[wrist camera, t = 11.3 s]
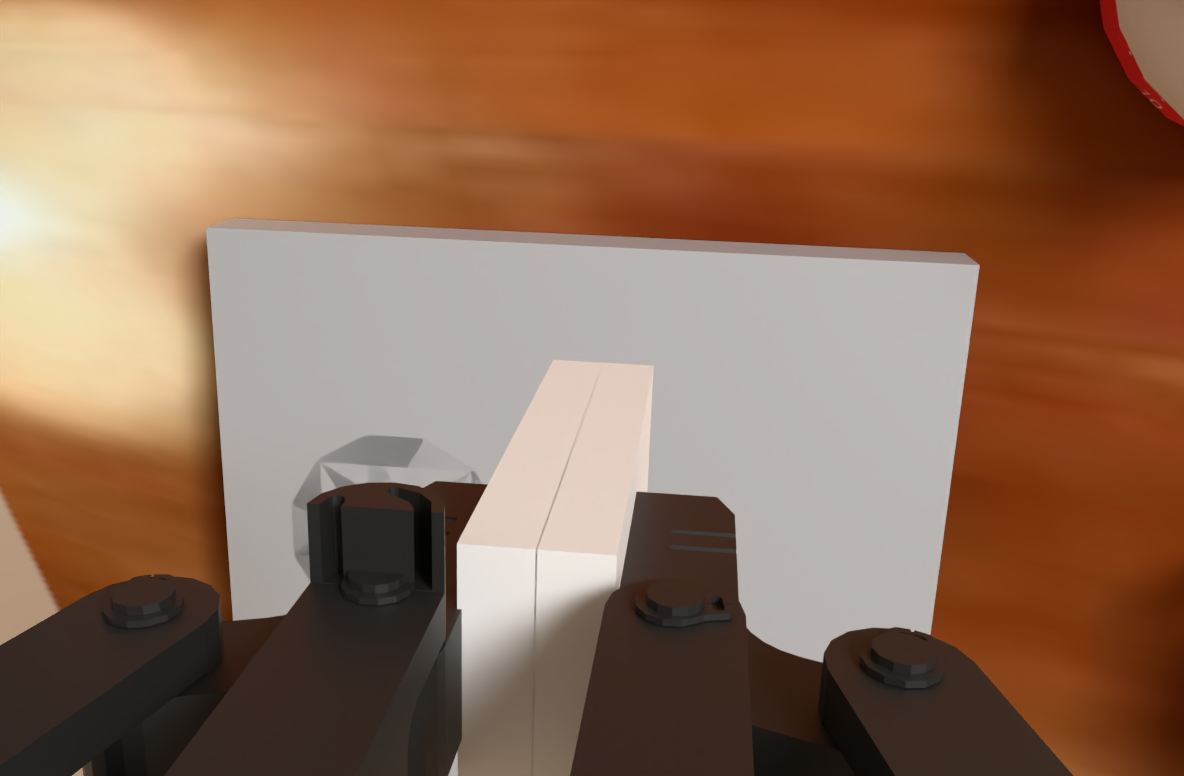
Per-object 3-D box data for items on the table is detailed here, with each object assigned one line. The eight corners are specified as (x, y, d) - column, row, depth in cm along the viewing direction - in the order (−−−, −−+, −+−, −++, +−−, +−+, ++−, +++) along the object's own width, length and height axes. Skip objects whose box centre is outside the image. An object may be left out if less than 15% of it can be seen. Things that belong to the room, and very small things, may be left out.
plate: (266, 746, 51) (244, 780, 48) (233, 218, 44) (205, 227, 41) (893, 803, 48) (902, 842, 46) (964, 253, 41) (979, 265, 39)
